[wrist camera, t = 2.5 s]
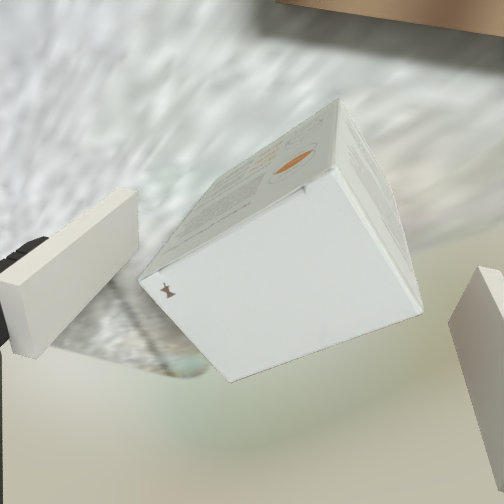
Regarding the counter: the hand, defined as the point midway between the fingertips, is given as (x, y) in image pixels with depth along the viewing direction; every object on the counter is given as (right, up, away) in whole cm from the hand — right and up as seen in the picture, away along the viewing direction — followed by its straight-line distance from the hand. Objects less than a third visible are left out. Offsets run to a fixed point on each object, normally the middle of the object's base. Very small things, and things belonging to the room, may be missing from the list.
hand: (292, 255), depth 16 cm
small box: (+1, +4, +6) cm, 8 cm away
